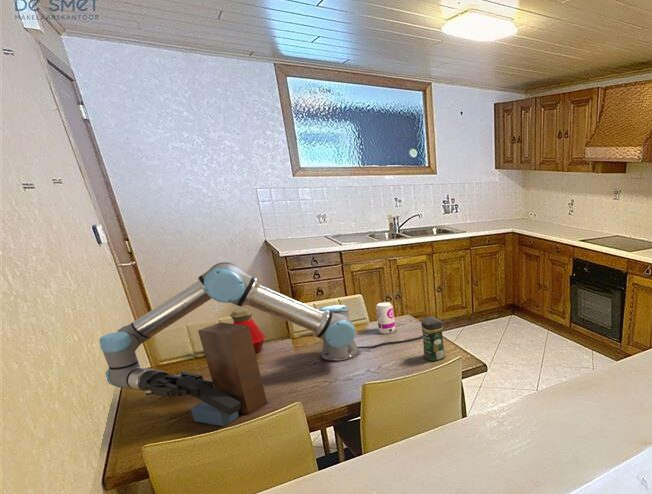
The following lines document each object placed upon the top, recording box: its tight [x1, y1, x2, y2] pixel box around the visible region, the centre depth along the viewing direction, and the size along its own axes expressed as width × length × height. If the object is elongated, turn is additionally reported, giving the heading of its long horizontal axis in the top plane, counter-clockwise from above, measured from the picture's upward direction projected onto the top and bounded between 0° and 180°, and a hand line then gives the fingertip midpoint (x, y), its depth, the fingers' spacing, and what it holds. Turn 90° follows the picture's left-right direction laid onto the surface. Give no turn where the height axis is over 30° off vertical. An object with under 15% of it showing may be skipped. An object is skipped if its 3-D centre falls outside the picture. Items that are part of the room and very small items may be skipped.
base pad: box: [190, 401, 240, 427], centre depth 144 cm, size 12×6×5 cm, turn 77°
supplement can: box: [375, 301, 396, 335], centre depth 220 cm, size 8×8×15 cm
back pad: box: [176, 376, 241, 415], centre depth 142 cm, size 21×4×3 cm, turn 77°
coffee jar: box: [421, 316, 445, 362], centre depth 191 cm, size 10×8×19 cm
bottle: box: [229, 307, 266, 354], centre depth 194 cm, size 16×14×20 cm
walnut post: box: [197, 322, 268, 415], centre depth 147 cm, size 12×8×30 cm, turn 77°
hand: (205, 388), depth 141 cm, fingers closed on back pad, 4 cm apart
